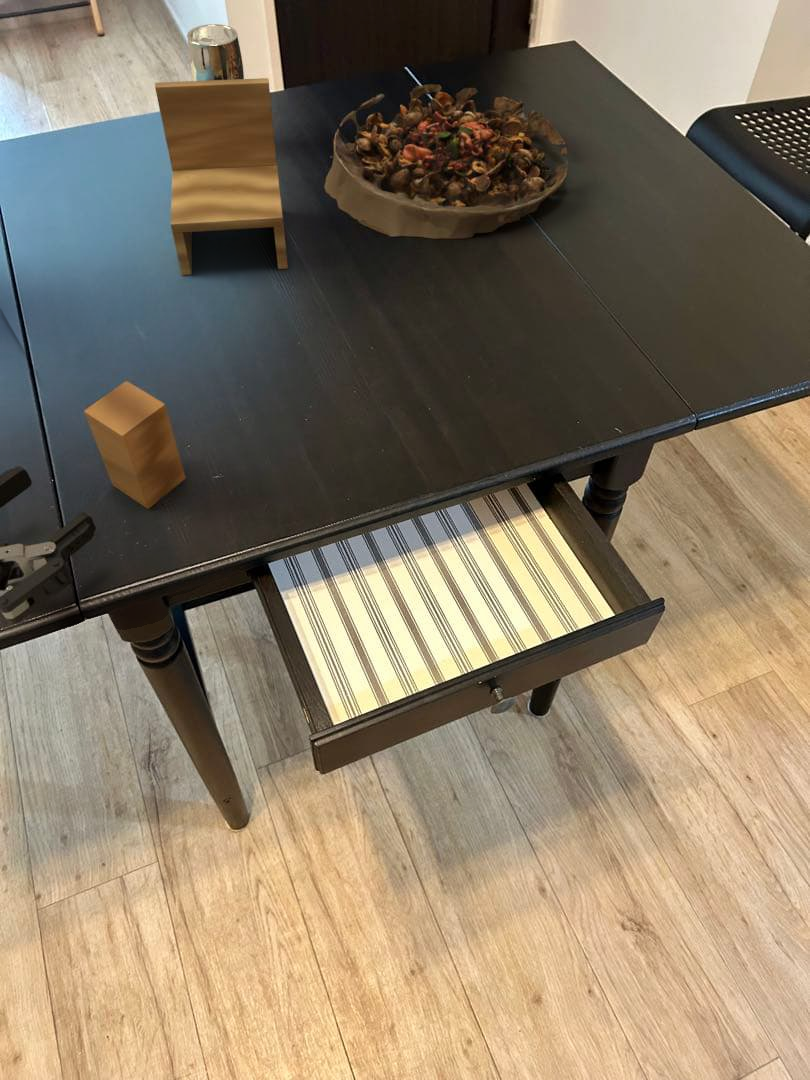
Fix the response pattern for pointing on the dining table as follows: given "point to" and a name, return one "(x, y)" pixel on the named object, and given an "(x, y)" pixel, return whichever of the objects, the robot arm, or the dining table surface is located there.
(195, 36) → the silver metal cylinder
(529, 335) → the dining table surface
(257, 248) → the dining table surface
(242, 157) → the miniature wooden chair
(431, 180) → the food dish
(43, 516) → the dining table surface
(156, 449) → the kraft box
